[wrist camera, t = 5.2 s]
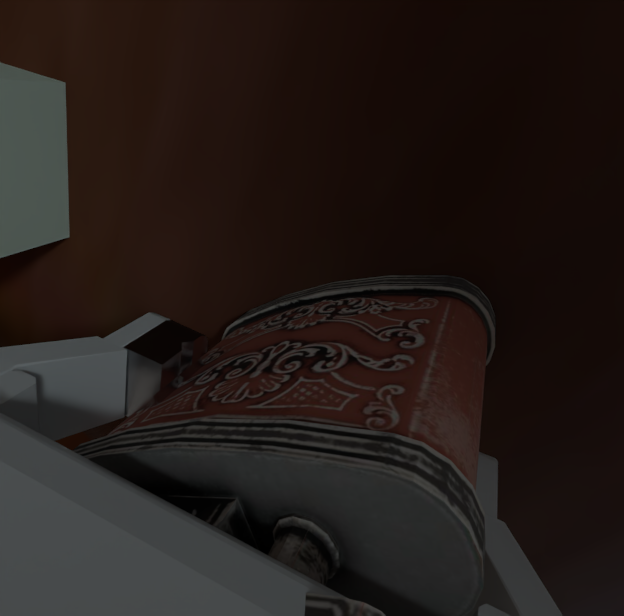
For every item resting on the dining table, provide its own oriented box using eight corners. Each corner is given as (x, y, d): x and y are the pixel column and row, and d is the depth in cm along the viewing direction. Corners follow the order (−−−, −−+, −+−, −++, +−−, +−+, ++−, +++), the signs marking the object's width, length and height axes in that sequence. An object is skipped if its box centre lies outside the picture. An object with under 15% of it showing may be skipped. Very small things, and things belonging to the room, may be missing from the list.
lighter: (254, 394, 16) (-40, 733, 7) (220, 303, 15) (-164, 570, 6) (507, 374, 12) (507, 978, 4) (482, 253, 11) (412, 693, 3)
